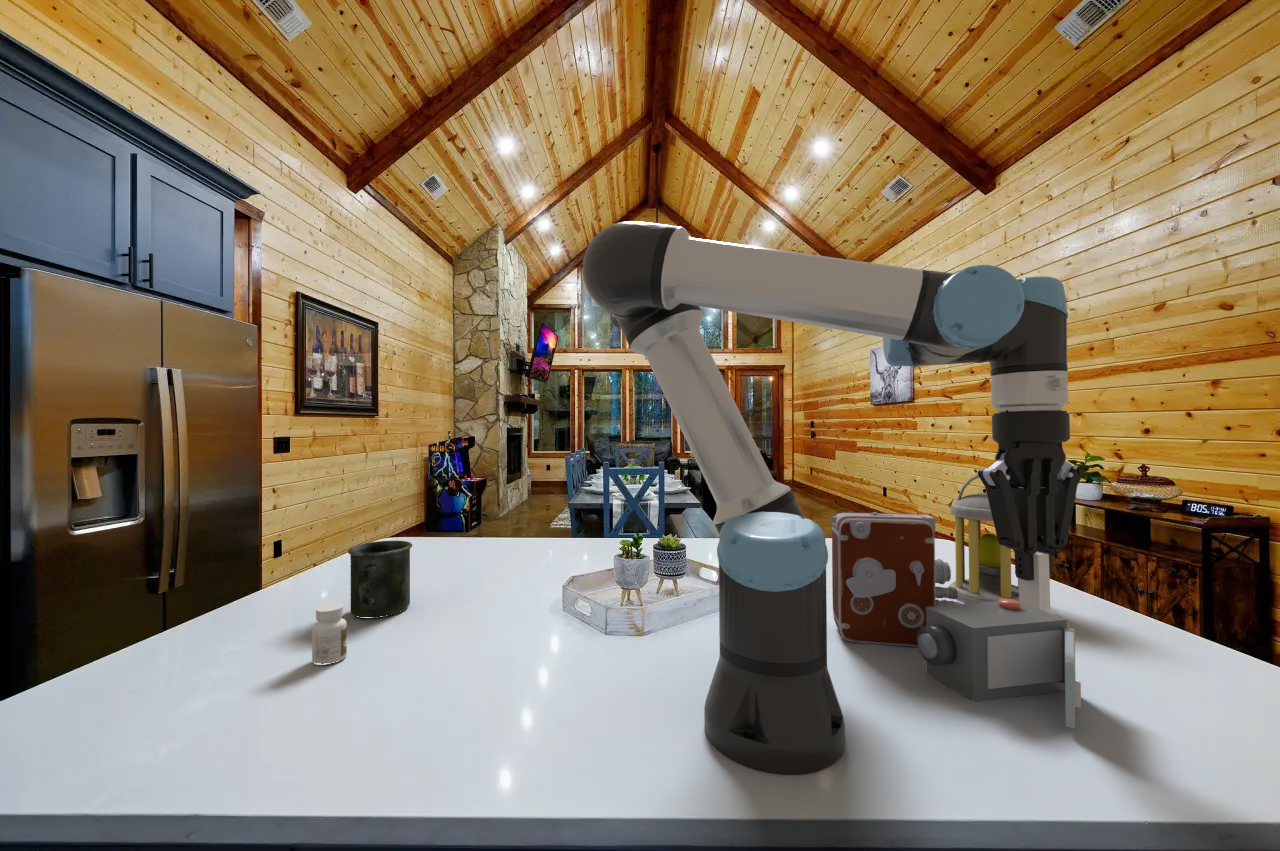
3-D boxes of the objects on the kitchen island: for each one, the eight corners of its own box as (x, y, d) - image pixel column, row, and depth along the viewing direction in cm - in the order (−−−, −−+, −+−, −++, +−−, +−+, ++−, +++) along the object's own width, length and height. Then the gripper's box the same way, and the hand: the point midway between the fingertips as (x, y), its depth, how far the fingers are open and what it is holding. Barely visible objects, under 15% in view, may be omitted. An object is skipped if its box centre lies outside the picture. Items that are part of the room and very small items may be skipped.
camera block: (957, 704, 64) (956, 623, 64) (910, 673, 72) (909, 602, 72) (1069, 690, 67) (1068, 613, 67) (1012, 663, 75) (1011, 594, 75)
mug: (419, 599, 105) (418, 539, 105) (397, 625, 91) (397, 556, 91) (361, 602, 104) (361, 541, 104) (329, 629, 89) (329, 559, 89)
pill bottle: (351, 659, 78) (351, 607, 78) (317, 669, 74) (317, 614, 74) (341, 651, 81) (341, 600, 81) (308, 660, 77) (308, 607, 77)
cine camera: (978, 656, 78) (976, 520, 78) (839, 645, 81) (838, 516, 82) (954, 632, 87) (953, 511, 87) (830, 624, 90) (829, 508, 91)
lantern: (945, 601, 102) (944, 473, 102) (951, 584, 113) (950, 468, 114) (1037, 616, 94) (1035, 476, 94) (1033, 595, 105) (1032, 471, 106)
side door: (1081, 731, 57) (1080, 664, 57) (1064, 726, 57) (1063, 660, 58) (1079, 686, 66) (1078, 629, 66) (1064, 683, 67) (1063, 626, 67)
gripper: (1010, 408, 58) (1016, 621, 58) (1106, 407, 61) (1112, 612, 60) (957, 411, 66) (962, 600, 65) (1044, 410, 68) (1049, 592, 68)
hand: (1034, 606), depth 63 cm, fingers closed
